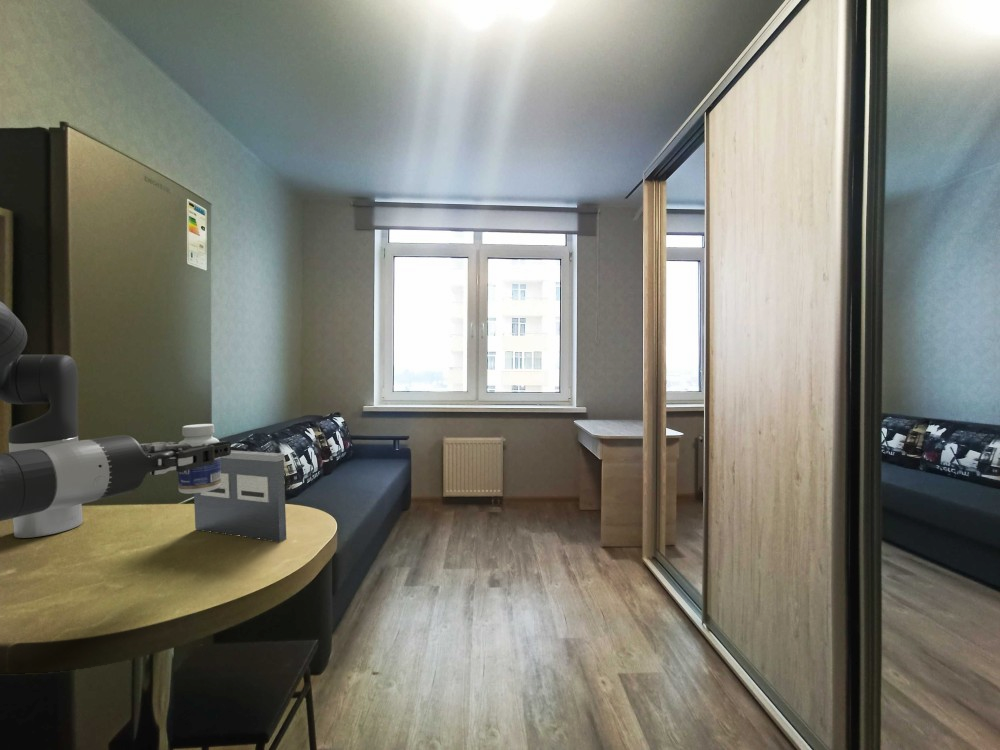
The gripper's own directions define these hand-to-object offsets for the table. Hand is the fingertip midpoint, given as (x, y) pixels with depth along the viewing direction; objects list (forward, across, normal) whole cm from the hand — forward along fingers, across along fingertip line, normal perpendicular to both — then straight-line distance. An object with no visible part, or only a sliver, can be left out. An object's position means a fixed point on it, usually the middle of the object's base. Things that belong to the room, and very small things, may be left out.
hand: (214, 446), depth 70 cm
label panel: (+9, +6, +18) cm, 21 cm away
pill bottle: (-3, 0, +6) cm, 7 cm away
